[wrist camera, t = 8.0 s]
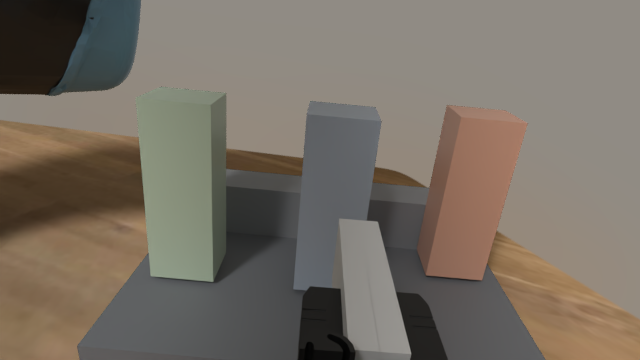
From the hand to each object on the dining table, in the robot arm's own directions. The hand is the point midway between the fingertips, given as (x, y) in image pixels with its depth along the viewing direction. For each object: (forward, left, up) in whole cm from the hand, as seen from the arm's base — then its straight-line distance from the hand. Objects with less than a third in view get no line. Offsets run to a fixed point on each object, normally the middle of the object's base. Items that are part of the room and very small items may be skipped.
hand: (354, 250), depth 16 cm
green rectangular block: (-9, +6, -6) cm, 12 cm away
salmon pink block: (+7, +9, -6) cm, 13 cm away
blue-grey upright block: (-1, +6, -6) cm, 9 cm away
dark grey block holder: (-1, +7, -8) cm, 10 cm away
